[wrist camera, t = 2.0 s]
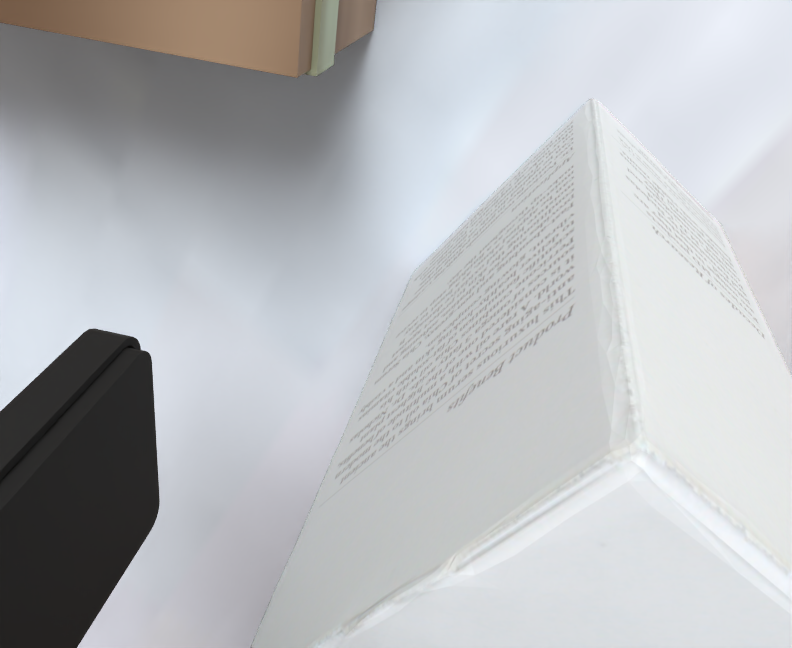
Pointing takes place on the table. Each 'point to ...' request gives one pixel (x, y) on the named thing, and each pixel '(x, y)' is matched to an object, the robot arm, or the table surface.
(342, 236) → the table surface
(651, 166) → the skincare box
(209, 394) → the table surface
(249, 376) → the table surface
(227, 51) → the gift box
